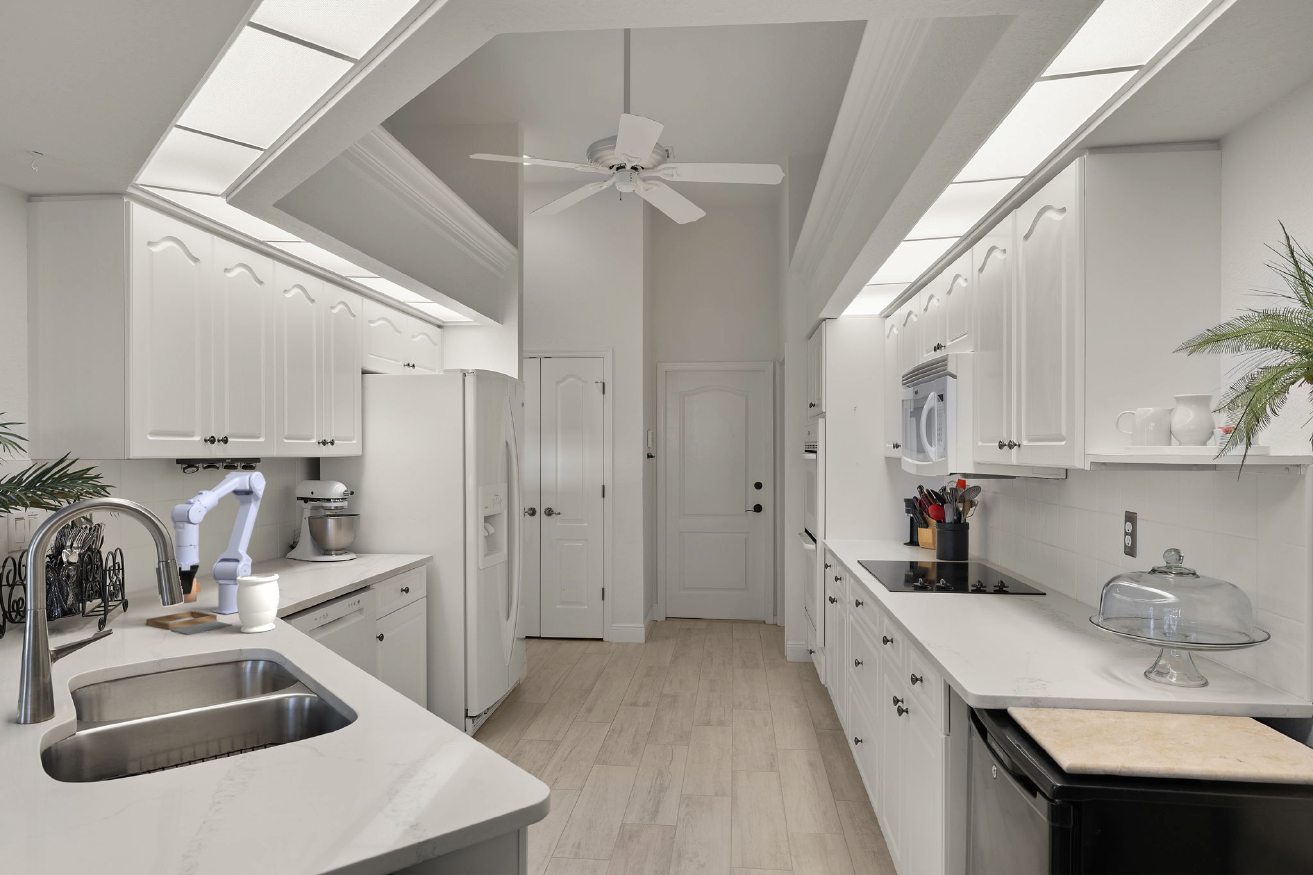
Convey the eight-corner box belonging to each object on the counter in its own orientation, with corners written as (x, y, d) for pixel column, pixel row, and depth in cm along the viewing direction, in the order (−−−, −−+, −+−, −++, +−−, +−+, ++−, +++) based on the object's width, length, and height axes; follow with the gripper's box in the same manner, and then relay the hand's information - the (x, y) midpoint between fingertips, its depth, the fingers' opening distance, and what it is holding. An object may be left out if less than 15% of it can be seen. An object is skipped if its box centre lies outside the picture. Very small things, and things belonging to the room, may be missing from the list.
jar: (227, 633, 203) (227, 578, 203) (257, 624, 213) (257, 572, 213) (258, 635, 200) (258, 579, 200) (287, 626, 210) (287, 573, 210)
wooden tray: (193, 615, 225) (193, 610, 225) (216, 620, 219) (216, 615, 219) (146, 624, 214) (146, 618, 214) (168, 629, 208) (168, 624, 208)
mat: (215, 622, 216) (215, 620, 216) (231, 625, 212) (231, 624, 212) (170, 631, 206) (170, 629, 206) (187, 634, 201) (187, 633, 201)
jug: (175, 604, 211) (175, 579, 211) (176, 601, 215) (176, 577, 215) (200, 601, 214) (200, 577, 214) (200, 598, 218) (200, 575, 218)
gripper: (172, 543, 219) (172, 589, 219) (168, 549, 206) (168, 597, 206) (200, 542, 222) (200, 587, 222) (198, 547, 210) (198, 595, 210)
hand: (187, 592), depth 214 cm, fingers closed on jug, 5 cm apart
